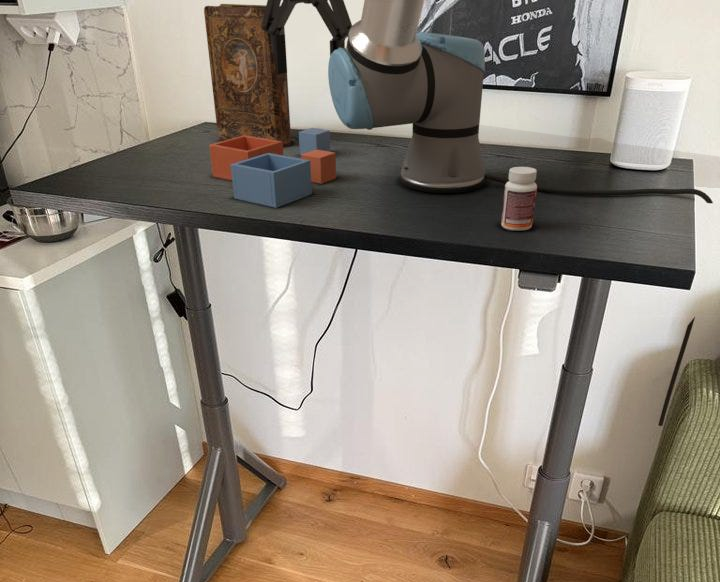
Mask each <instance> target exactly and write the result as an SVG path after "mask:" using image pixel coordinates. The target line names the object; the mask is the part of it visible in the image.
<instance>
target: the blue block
mask: <svg viewBox="0 0 720 582" xmlns="http://www.w3.org/2000/svg"><path fill="white" fill-rule="evenodd" d="M298 143H299V156H300V157H301V154H304V153H307V152H310V151H313V150H322V151H328V152H331V131H330V130H329V129H322V128H316V127H311V128H308V129H304V130H300V131H298Z"/></svg>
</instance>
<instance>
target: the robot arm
mask: <svg viewBox="0 0 720 582" xmlns="http://www.w3.org/2000/svg"><path fill="white" fill-rule="evenodd" d="M424 3H425V0H364V1H363V7H362V14H361V18H360V20H358V21H356V22H355V23H354V24H352V21H351V18H350V15H349V12H348V9H347V7H346V3H345V0H267V1H266V4H265V5H266V9H265V13H264V17H263V20H262V24H261V28H262V30H266V31H267V32H269V34H270V36H271V49H272V53H273V54H274V58H275V73H276V74H283V73H287V74H288V61H287V45H286V44H287V42H286V33H285V34H281V33H283V32H282V30H283V28H284V29H285V26H286V24H287V22H288V20H289V18H290V16H291V14H292V13H293V10H294V9H295V7H296V5H298V4H305V5H307V4H308V5H312V6H313V7H314V8H315V9H316V10H317V11H316V12H318V15H319V16H320V17H321V20H322V21H323V23H324V24H325V27H326V28H327V30H328V31H329V33H330V35H331V37H332V38H331V39H330V40H329V59H328V66H327V77H328V87H329V91H330V92H329V93H330V96H331V101H332V104H333V107H334V110H335V112H336V114H337V117H338V118H339V119H340V122H341V123H342V124H343V125H344V126H345V127H346V128H348V129H350V130H369V131H371V130H372V129H377V128H385V127H394V126H403V125H409V124H410V125H412V132H411V139H410V142H409V145H408V149H407V151H406V153H405V157H404V160H403V162H402V166H401V170H400V182H401V184H402V185H403V186H404V187H406V188H408V189H410V190H411V189H412V190H414V191H415V190H416V191H418V192H423V193H424V192H425V193H431V194H458V193H466V192H470V191H471V192H472V191H475V190H478V189H480V188H481V187H483V186H484V185H485V183H486V180H487V181H492V182H497V183H501V184H504V185H506V183H507V182H508V181H510V180H509V179H508V178H506V177H501V176H497V175H493V174H488V173H486V167H485V162H484V158H483V153H482V148H481V143H480V138H479V135H480V122H481V112H482V111H481V110H482V98H483V88H484V87H483V86H484V77H485V76H484V75H485V73H486V66H485V65H486V61H485V60H486V50H485V49H486V48H485V46H484V44H483V43H482V41H480V40H478V39H475V38H470V37H464V36H458V35H452V34H451V35H450V34H443V33H435V32H425V31H419V32H418V28H419V25H420V21H421V16H422V12H423V8H424ZM279 6H280V8H279ZM280 34H281V35H280ZM346 39H347V40H346ZM536 185H537V191H539V192H545V193H547V192H548V193H555V194H566V195H583V196H633V195H695V196H698V197H699V198H701V199H703V201H705V203H706V204H714V202H713V200H712V199H711V197H710V196H709V195H708V194H707V193H705V192H704V191H702V190H700V189H696V188H638V189H637V188H636V189H583V188H581V189H580V188H566V187H557V186H548V185H547V186H546V185H539V184H536ZM695 320H696V316H694V317H693V318H692V319H691V321H690V322H689V323H688V324H687V325H686V329H685V332H684V336H683V340H682V343H681V346H680V349H679V353H678V355H677V358H676V362H675V366H674V369H673V372H672V374H671V378H670V382H669V385H668V389H667V392H666V395H665V399H664V402H663V406H662V410H661V413H660V417H659V421H658V426H659V427H663V426H664V422H665V418H666V414H667V411H668V407H669V404H670V401H671V397H672V393H673V390H674V387H675V384H676V380H677V378H678V374H679V371H680V368H681V366H682V365H681V364H682V361H683V358H684V356H685V355H684V354H685V351H686V348H687V345H688V342H689V339H690V335H691V333H692V329H693V325H694V322H695Z"/></svg>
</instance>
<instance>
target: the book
mask: <svg viewBox="0 0 720 582" xmlns="http://www.w3.org/2000/svg"><path fill="white" fill-rule="evenodd" d="M266 5H267V4H239V3H238V4H236V3H235V4H234V3H221V4H219V5H205V6H204V8H203V13H204V23H205V32H206V40H207V49H208V58H209V68H210V75H211V76H210V78H211V86H212V95H213V96H212V97H213V104H214V105H213V106H214V115H215V122H216V132H217V136H218V138H219V139H220V140H221V141H225V140H229V139H232V138H236V137H240V136H243V135H247V136H253V137H259V138H265V139H270V140H276V141H282V142H283V148H284V147H285V148H286V147H288V146H291V145H292V131H291V118H290V116H291V113H290V100H289V97H290V96H289V82H288V81H289V80H288V72H287V73H283V74H276V73H275V58H274V54H273V53H272V49H271V36H270V34H269V32H267V31H266V30H262V28H261V24H262V20H263V17H264V13H265V9H266ZM280 6H281V5H280ZM280 6H279V8H280ZM285 29H286V28H285V27H284V28H283V30H282V32H283V33H281V34H285V35H286V31H285ZM281 34H280V35H281Z"/></svg>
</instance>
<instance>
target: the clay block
mask: <svg viewBox="0 0 720 582" xmlns="http://www.w3.org/2000/svg"><path fill="white" fill-rule="evenodd" d="M300 159H305V160H310V165H311V183H315V184H319V185H323V184H325V183H327V182H331V181H333V180H336V179H337V161H336V152H333V151H330V152H328V151H322V150H313V151H310V152H307V153H304V154H301V156H300Z"/></svg>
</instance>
